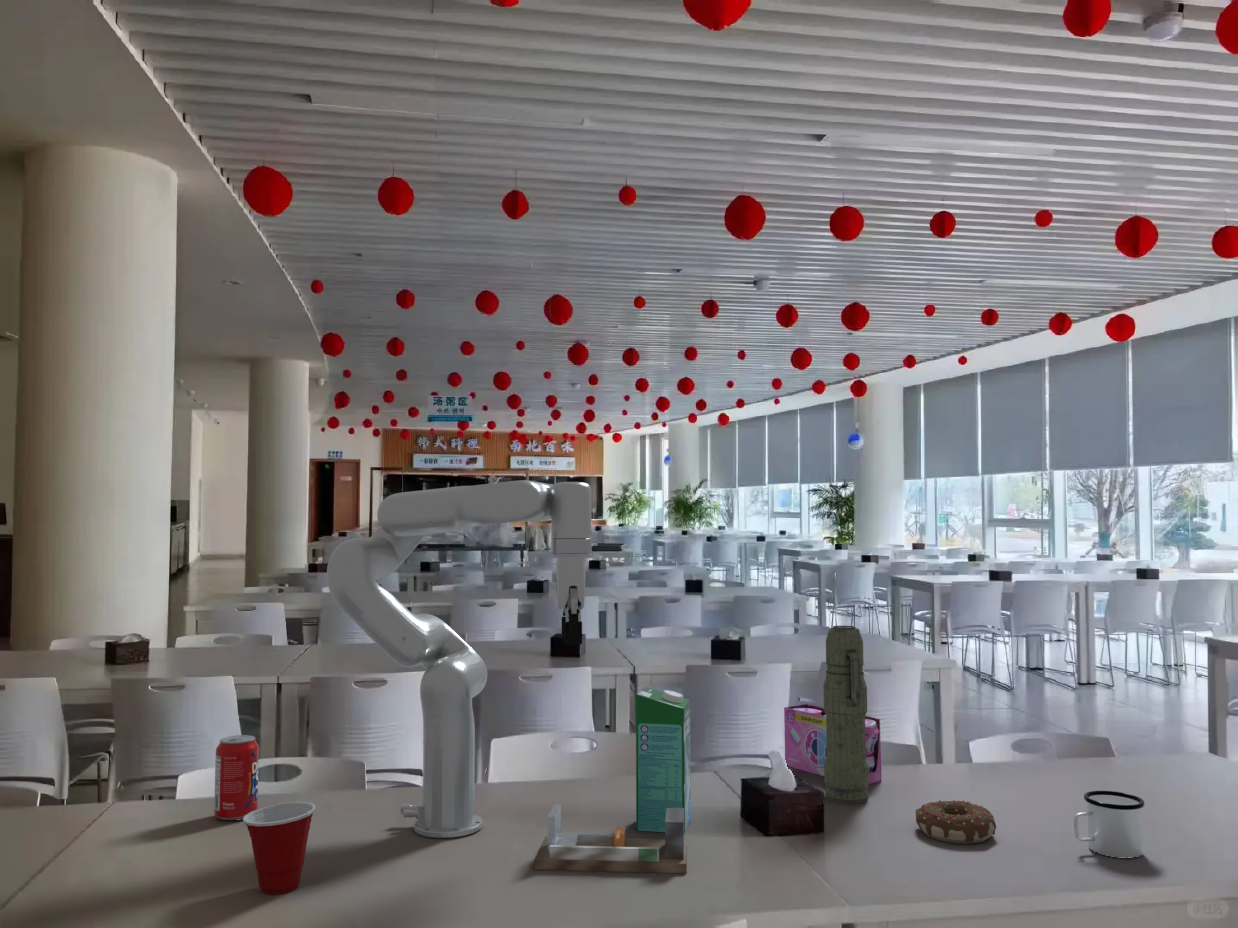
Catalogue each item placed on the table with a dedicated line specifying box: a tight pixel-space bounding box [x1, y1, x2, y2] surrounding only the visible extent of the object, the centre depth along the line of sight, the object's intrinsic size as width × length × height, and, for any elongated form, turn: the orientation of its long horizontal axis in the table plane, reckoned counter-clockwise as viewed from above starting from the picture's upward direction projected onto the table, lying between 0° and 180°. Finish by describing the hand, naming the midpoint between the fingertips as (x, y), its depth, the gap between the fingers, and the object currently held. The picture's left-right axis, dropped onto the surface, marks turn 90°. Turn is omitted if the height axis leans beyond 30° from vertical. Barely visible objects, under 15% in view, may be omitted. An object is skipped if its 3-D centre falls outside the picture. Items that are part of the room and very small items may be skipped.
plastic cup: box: [242, 801, 316, 895], centre depth 152 cm, size 11×11×12 cm
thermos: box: [822, 625, 870, 805], centre depth 202 cm, size 9×12×35 cm
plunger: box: [547, 803, 608, 853], centre depth 165 cm, size 10×7×6 cm
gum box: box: [783, 703, 883, 785], centre depth 220 cm, size 24×8×14 cm, turn 36°
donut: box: [915, 800, 997, 845], centre depth 177 cm, size 14×14×5 cm
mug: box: [1073, 790, 1146, 858], centre depth 168 cm, size 12×10×9 cm
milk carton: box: [635, 686, 692, 834], centre depth 183 cm, size 9×9×25 cm
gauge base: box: [533, 808, 688, 874], centre depth 165 cm, size 25×12×8 cm, turn 85°
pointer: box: [613, 826, 626, 847], centre depth 163 cm, size 2×7×3 cm, turn 176°
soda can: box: [213, 734, 260, 821], centre depth 189 cm, size 8×8×15 cm
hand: (571, 641), depth 180 cm, fingers open, 9 cm apart
